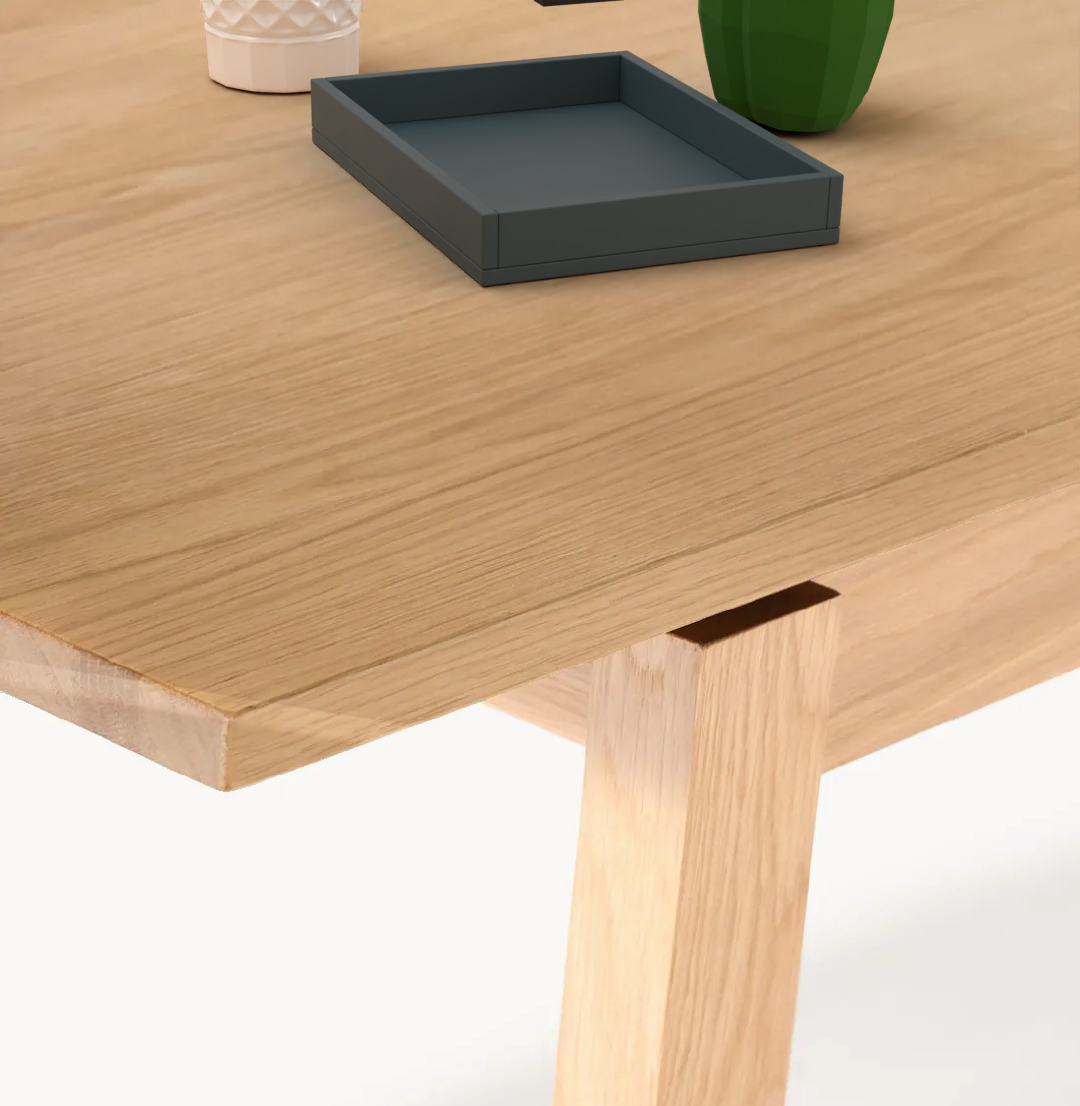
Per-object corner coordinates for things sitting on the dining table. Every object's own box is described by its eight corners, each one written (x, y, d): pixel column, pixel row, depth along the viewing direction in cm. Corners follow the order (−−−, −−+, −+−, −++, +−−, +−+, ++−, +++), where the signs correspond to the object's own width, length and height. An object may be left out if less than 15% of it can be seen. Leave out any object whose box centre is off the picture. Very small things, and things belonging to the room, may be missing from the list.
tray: (482, 287, 89) (482, 214, 87) (311, 141, 104) (309, 78, 103) (839, 243, 94) (844, 174, 92) (625, 110, 109) (627, 49, 108)
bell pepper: (712, 86, 113) (724, -148, 108) (896, 102, 111) (916, -136, 106) (670, 136, 106) (680, -112, 101) (866, 154, 104) (885, -98, 99)
